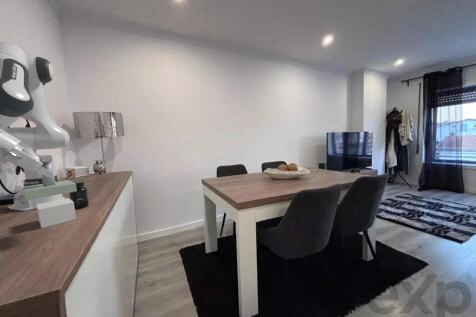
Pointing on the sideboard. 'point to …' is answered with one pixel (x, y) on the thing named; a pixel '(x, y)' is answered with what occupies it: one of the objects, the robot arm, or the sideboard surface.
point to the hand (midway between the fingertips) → (50, 175)
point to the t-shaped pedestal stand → (48, 183)
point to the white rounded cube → (55, 212)
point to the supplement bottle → (79, 196)
